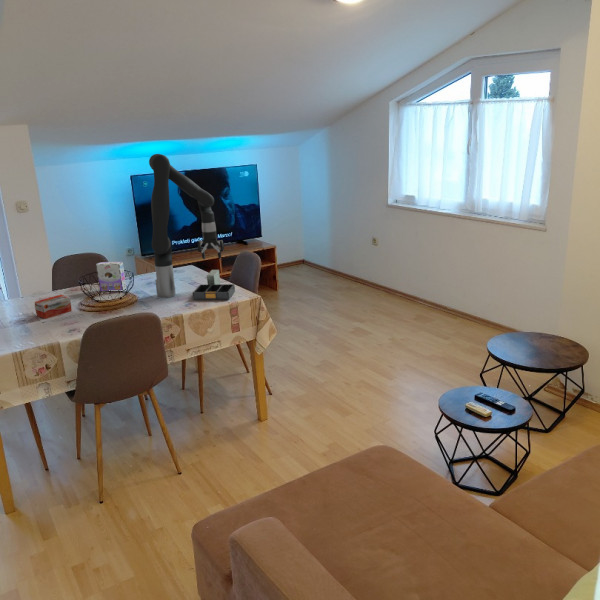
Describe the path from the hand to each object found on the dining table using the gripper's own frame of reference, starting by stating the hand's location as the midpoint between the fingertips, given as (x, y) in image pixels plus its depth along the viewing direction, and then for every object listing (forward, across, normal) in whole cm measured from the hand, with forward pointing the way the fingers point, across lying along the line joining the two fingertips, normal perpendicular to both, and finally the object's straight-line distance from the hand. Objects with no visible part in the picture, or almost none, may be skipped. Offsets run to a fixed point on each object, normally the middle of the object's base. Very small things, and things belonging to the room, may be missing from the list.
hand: (212, 258), depth 323 cm
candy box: (+16, -58, -4) cm, 61 cm away
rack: (+17, +4, -15) cm, 23 cm away
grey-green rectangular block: (+17, 0, 0) cm, 17 cm away
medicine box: (+16, -72, -44) cm, 86 cm away
